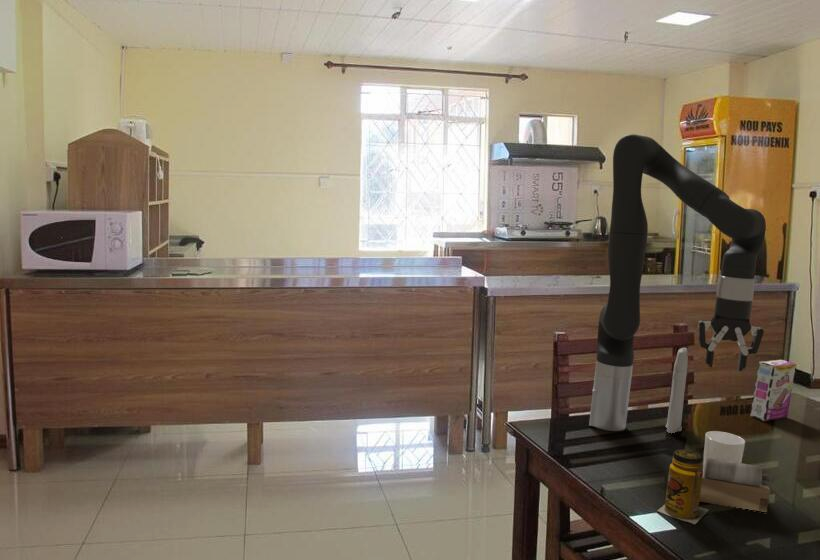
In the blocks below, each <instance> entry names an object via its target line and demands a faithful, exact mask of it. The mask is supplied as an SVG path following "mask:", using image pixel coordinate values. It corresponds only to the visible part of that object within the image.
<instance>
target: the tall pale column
mask: <svg viewBox="0 0 820 560" xmlns="http://www.w3.org/2000/svg"><path fill="white" fill-rule="evenodd" d="M688 359H689V358H688V348H687V347H681V348H679V349H678V351H677V354H676V358H675V362H674V365H673V372H672V381H671V388H670V389H671V390H670V397H669V398H670V399H669V404H668V412H667V413H668V414H667V418H666V419H667V420H666V421H667V422H666V424H665V427H666V428H667V429H666V433H667V432H668V433H667V434H669V433H671V434H670V435H673V434H672V433H674V434H675V432H676V433H677V432H681V431H682V429H683V427H682V418H683V410H684V400H685V392H686V391H685V390H686V383H687V381H686V380H687V375H688V365H689V364H688V363H689V360H688Z"/></svg>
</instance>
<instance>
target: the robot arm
mask: <svg viewBox="0 0 820 560" xmlns="http://www.w3.org/2000/svg"><path fill="white" fill-rule="evenodd" d="M612 155H613V156H612V173H613V174H612V179H613V180H612V181H613V183H612V185H613V187H612V188H613V190H612V192H613V193H612V202H611V213H610V214H611V216H610V224H609V225H610V226H609V232H608V244H607V256H608V260H607V261H608V271H609V293H608V299H607V303H605V304H604V306H603V307H602V309H601V311H600V314H599V317H598V319H599V320H598V330H597V339H596V341H597V342H596V357H595V358H596V361H595V367H594V368H595V369H594V379H593V387H592V395H591V396H592V398H591V405H590V413H589V421H588V422H589V423H588V426H590V427H595V428H597V429H599V430H603V431H611V432H621V431H624V430H625V429H626V426H627V418H628V410H629V409H628V408H629V400H630V392H631V384H632V375H633V368H634V367H633V366H634V360H635V354H634V341H635V340H634V337H635V335H636V333H637V332H638V330H639V328H640V325H641V308H640V307H641V305H640V304H641V302H640V299H641V297H640V294H641V283H642V277H643V271H644V266H645V265H644V264H645V259H646V251H647V244H648V233H649V231H648V230H649V225H648V217H647V213H646V210H645V207H644V204H643V198H642V182H643V175H644V174H645V175H646V176H649V177H651V178H653V179H655V180H657V181H659V182H660V183H662V184H663V185H665V186H666V187H667V188H669V189H670V190H671V191H672V193H674V195H675V196H676V197H677V198H678V199H679V200H680V201H681V202H682V203H684V204H685V205H686V206H687V207H689V208H690V209H692V210H693V211H695V212H696V213H698V214H699V215H701V216H702V217H704V218H705V219H707V220H708V221H709V222H710V223H711V224H712V225H713V226H714V227H715V228H717V230H719V232H721V233H722V234H724V235H725V236H726V237H729V238H730V239H731V242H730V246H729V248H728V249H727V250H726V252H724V254H723V256H722V260H721V267H720V268H721V269H720V273H719V275H720V276H719V280H718V283H717V289H716V291H715V293H716V297H715V303H714V309H713V311H714V313H713V316H712V318H711V320H709V321H703V320H702V319H701V320H698V321H697V329H698V331H697V333H698V344H699V346H700V348H703V349H705V351H706V353H705V359H704V360H705V364H707V366H708V368H712V367H713V364H714V356H715V352H714V350H715V348H717V346H718V344H719V343H720V342H721V340H722V341H731V342H737V344H738V347H739V350H740V352H739V353H738V361H737V371H739V372H742V371H743V370H745V369H746V367H747V360H748V356H749V355H756V354H757V353H758V352H759V348H760V345H761V342H762V339H763V337H764V334H765V331H764V329H763V328H762V327H761V326H753V325H751V314H752V307H753V299H754V292H755V275H756V271H757V270H756V268H757V259H758V256H759V253H760V251H761V249H762V246H763V243H764V240H765V239H764V238H765V235H766V230H767V222H766V218H765V216H764V214H763V213H762V212H760V211H759V210H758V209H754V208H753V209H752V208H745V207H742V206H741V205H739V204H737V203H736V202H734V201H733V200H732V199H731V198H730V196H729V195H728V193H726V192H725V191H724V190H723V189H720V187H717V186H716V185H714V184H712V183H711V182H710V181H708V180H706V179H704V178H703V177H701V176H700V175H698V174H697V173H695V172H694V171H693V170H691V169H689V168H687V167H686V166H684V164H682V163H680V161H678V160H677V159H676V158H674V157H673V155H671V154H670V153H669V152H668V151H667V150H666V149H665V148H664V147H662V145H660V144H659V142H658V141H657V140H655V139H654V138H653V137H649V136H646V135H640V134H635V133H634V134H630V133H629V134H626V135H623V136H622V137H621V138H620V139H619V140H618V141H617V142H616V144H615V146H614V150H613V154H612ZM710 327H712V329H713V331H714V333H713V335H712V337H711V339H710V340H709V342H706V340H707V339H706V331H708V330H709V328H710ZM749 332H751V335H752V336H753V337H752V341H751V343H750V346H749V347H747V344H746V341H745V338H744V337H745V336H747V334H748V333H749Z"/></svg>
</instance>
